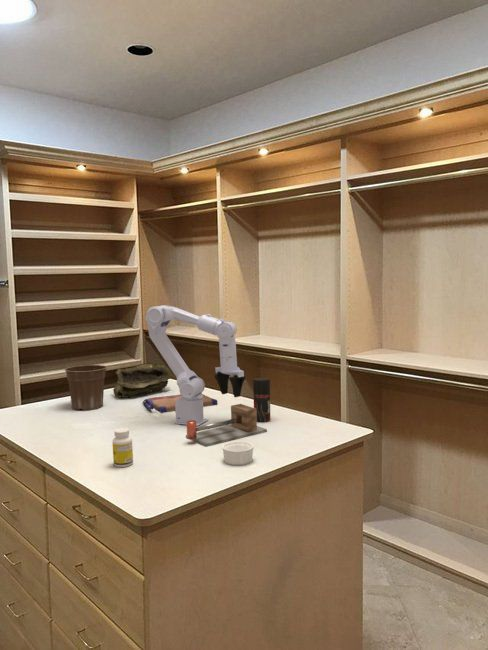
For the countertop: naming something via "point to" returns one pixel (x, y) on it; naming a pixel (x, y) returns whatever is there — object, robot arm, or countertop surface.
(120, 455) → the supplement bottle
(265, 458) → the countertop surface
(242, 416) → the eye block
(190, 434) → the copper head mallet
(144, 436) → the countertop surface
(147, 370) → the hollow geode rock
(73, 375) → the plant pot
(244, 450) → the ramekin
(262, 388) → the deodorant
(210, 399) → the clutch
